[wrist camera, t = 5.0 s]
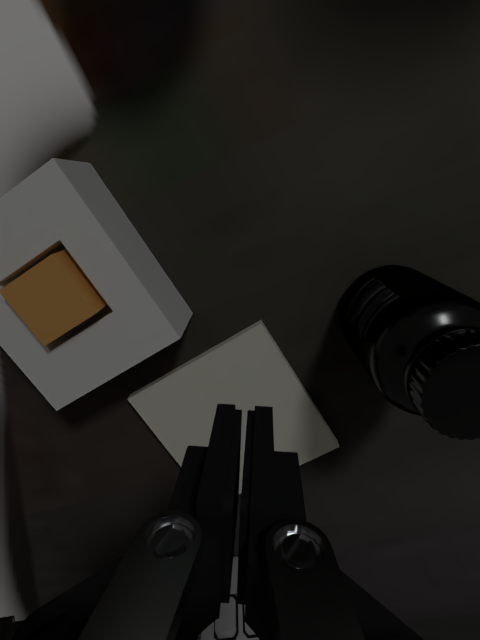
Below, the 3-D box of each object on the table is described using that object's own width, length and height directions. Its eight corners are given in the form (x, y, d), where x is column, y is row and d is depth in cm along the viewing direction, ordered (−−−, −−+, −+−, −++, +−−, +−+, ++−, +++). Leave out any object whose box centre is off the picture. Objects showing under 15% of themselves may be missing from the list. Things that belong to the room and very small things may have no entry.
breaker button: (120, 293, 27) (96, 313, 23) (75, 322, 28) (44, 346, 24) (83, 243, 26) (51, 254, 22) (38, 274, 27) (-2, 291, 23)
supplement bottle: (356, 367, 30) (418, 480, 18) (323, 286, 28) (370, 356, 16) (447, 333, 29) (573, 430, 17) (419, 246, 27) (541, 291, 15)
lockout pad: (337, 440, 32) (339, 446, 31) (213, 499, 34) (212, 506, 33) (261, 319, 29) (261, 323, 28) (130, 394, 31) (127, 399, 30)
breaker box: (192, 313, 29) (179, 340, 24) (87, 376, 31) (53, 414, 26) (90, 163, 26) (49, 157, 21) (-20, 244, 28) (-83, 257, 23)
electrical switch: (288, 545, 36) (301, 670, 27) (299, 580, 38) (314, 708, 29) (189, 559, 37) (172, 685, 28) (204, 594, 39) (192, 720, 30)
